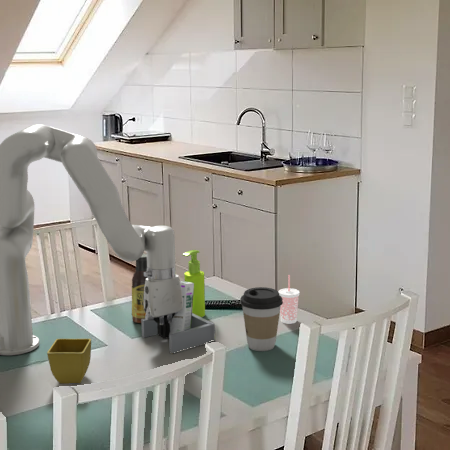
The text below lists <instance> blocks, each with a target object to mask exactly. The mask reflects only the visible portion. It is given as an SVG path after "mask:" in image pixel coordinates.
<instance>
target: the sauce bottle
mask: <svg viewBox="0 0 450 450" xmlns="http://www.w3.org/2000/svg"><path fill="white" fill-rule="evenodd" d="M146 271H147V253H143V255H142V256H141V257H140V258H139V259H137V260H135V271H134V273H133V276H132V279H131V284H132V285H131V315H132V317H131V320H132V322H133V323H136V324H141V320H142V319H145V315H146V313H145V311H144V287H145V281H146V278H148V277H145V276H144V272H146Z"/></svg>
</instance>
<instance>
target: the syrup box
mask: <svg viewBox="0 0 450 450" xmlns="http://www.w3.org/2000/svg"><path fill="white" fill-rule="evenodd" d="M180 283H181V289H182V297H183V308H182V310H180V311H178V314H176V315H174V317H173V318H172V322H171V323H170V335H171V334H174V333H177V332H181V331H184V330H188V329H191V324H192V307H193V290H194V283H192V282H185V280H184V281H183V280H182V281H181V280H180Z"/></svg>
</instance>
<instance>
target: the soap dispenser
mask: <svg viewBox="0 0 450 450" xmlns="http://www.w3.org/2000/svg"><path fill="white" fill-rule="evenodd" d="M199 253H200V250H199V249H198V250H197V249H192V250H191V249H190V250H188V251H186V252H183V253H182V257H183V256H184V257H189V256H190V260H188V263H187V264H188V271H185V272H184V274H183V275H184V281H185V282H192V283H194V290H193V307H192V313H193V314H195V315H197V316H199V317H202V318H203V317H205V316H206V302H205V301H206V298H205V297H206V296H205V295H206V294H205V285H206V284H205V272H204V271H202V270H201V261H200V260H198V254H199Z"/></svg>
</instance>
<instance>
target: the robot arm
mask: <svg viewBox="0 0 450 450" xmlns="http://www.w3.org/2000/svg"><path fill="white" fill-rule="evenodd" d="M44 158H45V159H49V160H51V161H56V162H59V163H62V166H63V167H64V169H65V171H66V172H67V174H68V176H69V177H70V178H71V179H72V181H73V183H74V185H75V186H76V188H77V189H78V191H79V192H80V193H81V195H82V197H83V199H84V201H85V202H86V203H87V205H88V206H89V209H90V212H91V214H92V215H93V217H94V219H95V221H96V224H97V226H98V227H99V229H100V231H101V233H102V235H103V236H104V238H105V239H106V241H107V242H108V244H109V246H110V247H111V248H112V250H113V251H114V253H115V255H116V256H117V257H118V258H120V259H121V260H123V261H125V262H136V260H137V259H139V258H140V257H141V256H142V255H143V254H147V271H146V272H144V276H145V277H148V278H146V281H145V287H144V311H145V313H146V315H145V319H146V320H148V321H155V322H156V323H157V329H158V334H157V335H158V337H160V338H162V339H163V340H166V339H169V335H170V323H171V322H172V318H173V317H174V315H176V314H178V311H180V310H182V308H183V297H182V289H181V283H180V281H181V280H180V276H179V274H177V270H176V239H175V238H176V236H175V230H174V228H173V227H171V226H168V225H154V226H149V225H148V226H147V225H139V224H132V222H131V221H130V220H129V218H128V216H127V214H126V212H125V210H124V206H123V204H122V202H121V201H122V200H121V197H120V192H119V190H118V187H117V186H116V184H115V182H114V181H113V180H112V178H111V176H110V175H109V173H108V171H107V170H106V168H105V167H104V165H103V163H102V162H101V160H100V159H99V157H98V149H97V146H96V143H94V141H92V140H91V139H89V138H88V137H85V136H82V135H79V134H76V133H72V132H69V131H65V130H62V129H60V128H57V127H53V126H50V125H46V124H40V123H38V124H33V125H30V126H28V127H25V128H24V129H21V130H19V131H16V132H15V133H13V134H11V135H9V136H8V137H6V138H5V139H3V141H2V142H1V143H0V356H17V355H18V356H19V355H23V354H27V353H29V352H31V351H32V352H33V351H34V350H36V349H37V348H38V347H39V346H40V338H39V337H38V336H36V335H34V334H33V333H34V332H33V320H32V318H33V317H32V308H31V307H32V306H31V296H30V284H29V277H28V276H29V275H28V269H27V264H26V257H27V256H28V254H29V253H30V251H31V249H32V247H33V241H34V223H35V202H34V201H35V199H34V196H33V195H32V193H31V192H30V191H29V190H28V182H29V181H28V180H29V175H28V173H29V172H28V171H29V169H28V168H29V166H30V164H32V163H34V162H36V161H40V160H42V159H44ZM144 252H146V253H144Z"/></svg>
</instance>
